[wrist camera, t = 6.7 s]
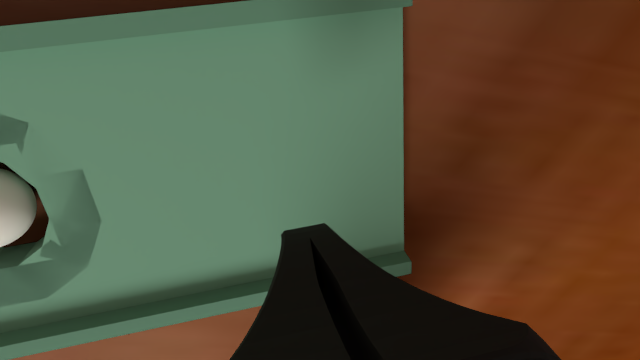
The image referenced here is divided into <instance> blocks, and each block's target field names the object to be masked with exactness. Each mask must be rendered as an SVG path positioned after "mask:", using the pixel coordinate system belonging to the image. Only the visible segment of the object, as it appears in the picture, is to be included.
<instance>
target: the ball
mask: <svg viewBox="0 0 640 360" xmlns="http://www.w3.org/2000/svg"><path fill="white" fill-rule="evenodd" d="M36 211H37V202H36V197H35V195H34V192H33V190H32V189H31V187H30V186H29V185H28V183H27V182H26V181H25V180H23V179H22V178H21V177H19V176H18V175H16V174H14V173H12V172H10V171H8V170H4V169H1V168H0V247H2V246H5V245H7V244H10V243H12V242H13V241H15V240H17V239H18V238H20V237H21V236H22V235H23V234H24V233H25V232H26V231H27V230H28V229H29V228H30V226H31V225H32V223H33V221H34V219H35V216H36Z"/></svg>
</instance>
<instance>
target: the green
mask: <svg viewBox="0 0 640 360" xmlns="http://www.w3.org/2000/svg"><path fill="white" fill-rule="evenodd" d="M408 6H412V0H248V1H239V2H229V3H219V4H210V5H200V6H190V7H180V8H171V9H161V10H151V11H142V12H132V13H122V14H113V15H103V16H93V17H84V18H74V19H64V20H55V21H45V22H35V23H26V24H16V25H6V26H0V162H1V163H4V164H5V165H7V166H8V167H9V168H11V169H12V170H13V171H14V172H16V173H17V174H18V175H19V176H21V177H22V178H23V179H25V180H26V181H27V182H28V183H30V184H31V185H32V186H33V187H35V188H36V190H37V192H38V194H39V197H40V199H41V201H42V203H43V206H44V208H45V210H46V213H47V215H48V217H49V222H48V226H47V230H46V234H45V236H44V237H43V238H41V239H40V240H39V241H38V242H33V243H27V244H22V245H16V246H10V247H5V248H4V247H0V360H8V359H13V358H18V357H23V356H27V355H32V354H37V353H41V352H46V351H51V350H55V349H60V348H65V347H69V346H74V345H79V344H83V343H88V342H93V341H98V340H102V339H107V338H112V337H116V336H121V335H126V334H130V333H135V332H140V331H144V330H149V329H154V328H158V327H163V326H168V325H173V324H177V323H182V322H187V321H191V320H196V319H201V318H205V317H210V316H215V315H219V314H224V313H229V312H233V311H238V310H243V309H248V308H252V307H257V306H262V305H263V303H264V300H265V298H266V296H267V293H268V291H269V288H270V285H271V282H272V280H273V277H274V274H275V271H276V267H277V263H278V259H279V255H280V249H281V234H282V233H283V232H284V231H285V230H291V229H296V228H301V227H306V226H312V225H317V224H322V223H325V224H327V225H328V226H329V227H330V228H331V229H332V230H333V231H334V232H336V233H337V234H338V235H339V236H340V237H341V238H342V239H343V240H345V241H346V242H347V243H348V244H349V245H351V246H352V247H353V248H354V249H355V250H357V251H358V252H359V253H361V254H362V255H363V256H365V257H366V258H367V259H369V260H370V261H371V262H373V263H374V264H376V265H377V266H379V267H380V268H382V269H383V270H385V271H386V272H388V273H390V274H391V275H393V276H395V277H398V276H402V275H407V274H411V260H410V259H409V257H408V256H407V254H406V253H405V251H404V150H403V7H408Z"/></svg>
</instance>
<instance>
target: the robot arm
mask: <svg viewBox="0 0 640 360" xmlns="http://www.w3.org/2000/svg"><path fill="white" fill-rule="evenodd" d="M230 360H561V359H560V358H559V357H558V356H557V355H556V354H555V352H554V351H553V350H552V349H551V348H550V347H549V346H548V344H547V343H546V342H545V341H544V340H543V339H542V338H541V337H540V336H539V335H538V334H537V333H536V332H535V331H533V330H532V329H531V328H530V327H529V326H528V325H527V324H526V323H522V322H518V321H514V320H509V319H505V318H501V317H497V316H493V315H489V314H485V313H482V312H479V311H475V310H472V309H469V308H466V307H463V306H460V305H457V304H454V303H452V302H449V301H446V300H444V299H441V298H439V297H436V296H434V295H432V294H429V293H427V292H425V291H422V290H420V289H418V288H416V287H414V286H412V285H410V284H408V283H406V282H404V281H402V280H400V279H399V278H397V277H395V276H393V275H391V274H390V273H388V272H386V271H385V270H383V269H382V268H380V267H379V266H377V265H376V264H374V263H373V262H371V261H370V260H369V259H367V258H366V257H365V256H363V255H362V254H361V253H359V252H358V251H357V250H355V249H354V248H353V247H352V246H351V245H349V244H348V243H347V242H346V241H345V240H343V239H342V238H341V237H340V236H339V235H338V234H337V233H336V232H334V231H333V230H332V229H331V228H330V227H329V226H328V225H327V224H325V223H322V224H317V225H312V226H306V227H301V228H296V229H291V230H285V231H284V232H283V233H282V234H281V249H280V255H279V259H278V263H277V267H276V271H275V274H274V277H273V280H272V282H271V285H270V288H269V291H268V293H267V296H266V298H265V300H264V303H263V305H262V307H261V309H260V311H259V313H258V315H257V317H256V319H255V321H254V322H253V324H252V326H251V328H250V329H249V331H248V333H247V335H246V336H245V338H244V339H243V341H242V343H241V344H240V346H239V347H238V349H237V350H236V351H235V353H234V354H233V355H232V357H231V358H230Z"/></svg>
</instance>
